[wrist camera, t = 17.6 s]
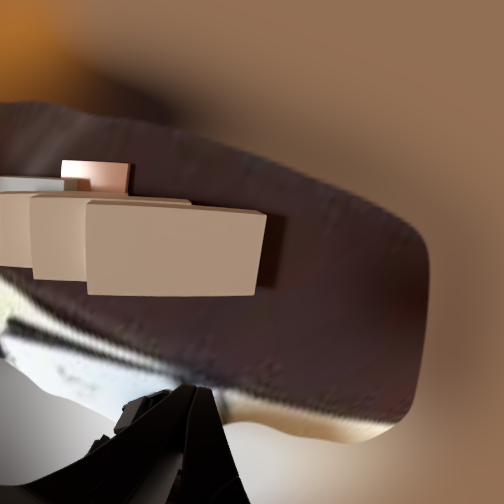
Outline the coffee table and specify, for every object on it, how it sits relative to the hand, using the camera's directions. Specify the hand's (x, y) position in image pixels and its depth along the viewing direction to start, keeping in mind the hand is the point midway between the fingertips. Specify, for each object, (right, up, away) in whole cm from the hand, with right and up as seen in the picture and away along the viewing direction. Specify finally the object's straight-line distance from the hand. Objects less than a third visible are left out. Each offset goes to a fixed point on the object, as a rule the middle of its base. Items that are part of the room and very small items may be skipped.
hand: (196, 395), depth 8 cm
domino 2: (-3, +5, +10) cm, 12 cm away
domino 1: (+2, +4, +10) cm, 11 cm away
